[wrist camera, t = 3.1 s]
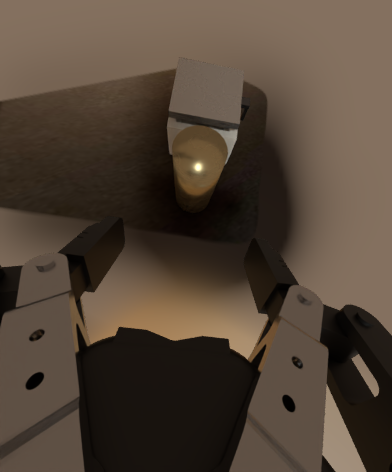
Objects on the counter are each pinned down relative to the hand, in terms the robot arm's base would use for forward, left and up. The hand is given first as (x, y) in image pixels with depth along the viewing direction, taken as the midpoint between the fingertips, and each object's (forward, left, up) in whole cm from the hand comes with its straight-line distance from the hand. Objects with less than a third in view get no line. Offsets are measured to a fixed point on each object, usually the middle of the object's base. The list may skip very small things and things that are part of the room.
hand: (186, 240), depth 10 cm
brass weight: (0, +9, -12) cm, 15 cm away
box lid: (+1, +20, -10) cm, 22 cm away
